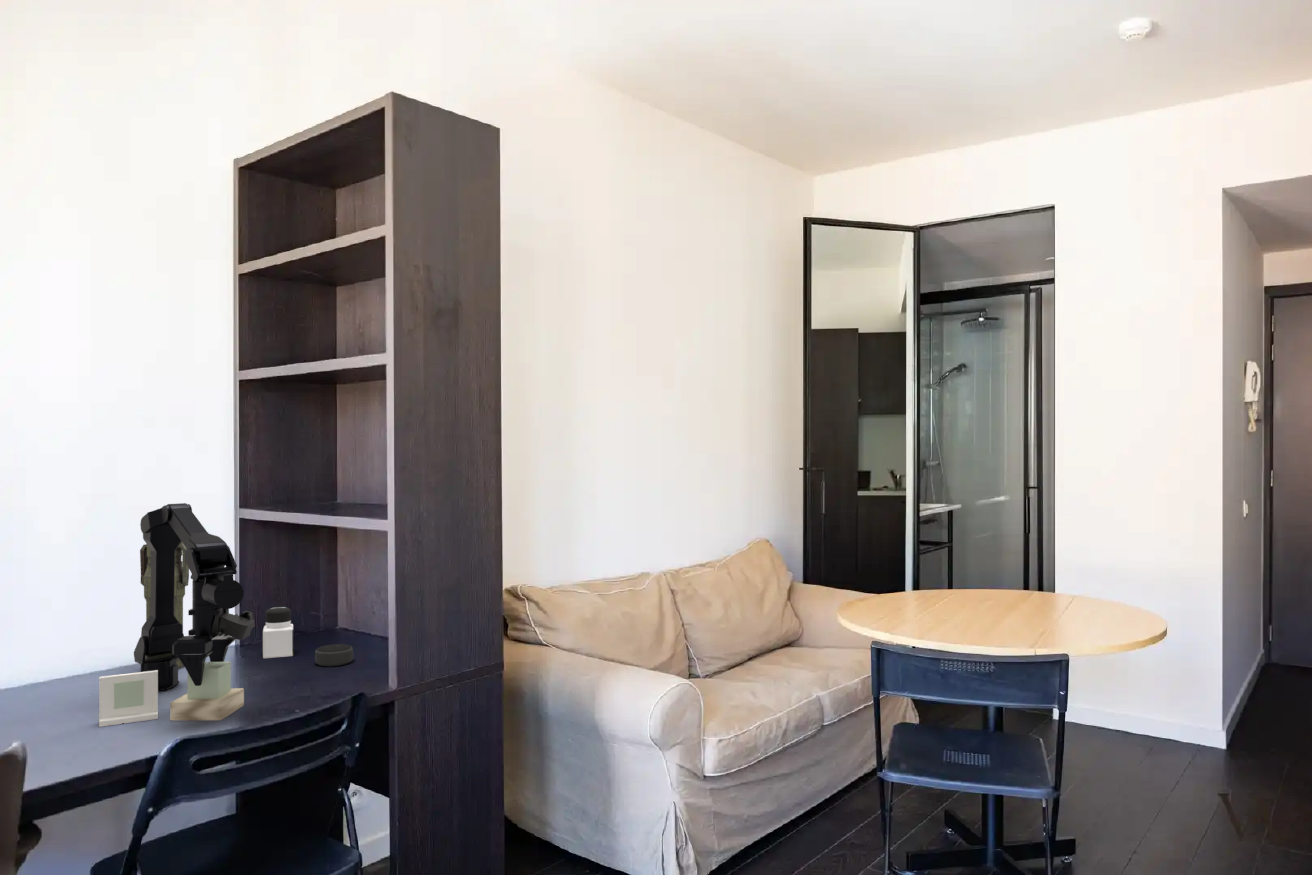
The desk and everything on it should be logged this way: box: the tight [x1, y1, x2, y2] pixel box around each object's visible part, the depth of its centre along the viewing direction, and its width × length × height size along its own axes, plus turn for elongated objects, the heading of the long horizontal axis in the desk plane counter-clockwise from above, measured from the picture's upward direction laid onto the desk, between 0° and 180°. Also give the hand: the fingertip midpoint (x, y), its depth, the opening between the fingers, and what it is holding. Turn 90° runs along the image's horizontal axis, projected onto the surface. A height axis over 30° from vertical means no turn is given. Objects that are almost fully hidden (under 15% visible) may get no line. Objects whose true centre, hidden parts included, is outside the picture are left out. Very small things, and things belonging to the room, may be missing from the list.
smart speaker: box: [314, 643, 354, 667], centre depth 223 cm, size 9×9×4 cm
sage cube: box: [186, 661, 232, 699], centre depth 183 cm, size 6×6×6 cm
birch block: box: [169, 687, 245, 721], centre depth 182 cm, size 10×10×4 cm
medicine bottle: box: [262, 606, 294, 659], centre depth 232 cm, size 7×7×12 cm
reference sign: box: [98, 670, 159, 728], centre depth 178 cm, size 10×5×9 cm, turn 120°
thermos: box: [139, 541, 190, 670], centre depth 219 cm, size 9×12×35 cm
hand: (208, 679), depth 182 cm, fingers open, 9 cm apart
